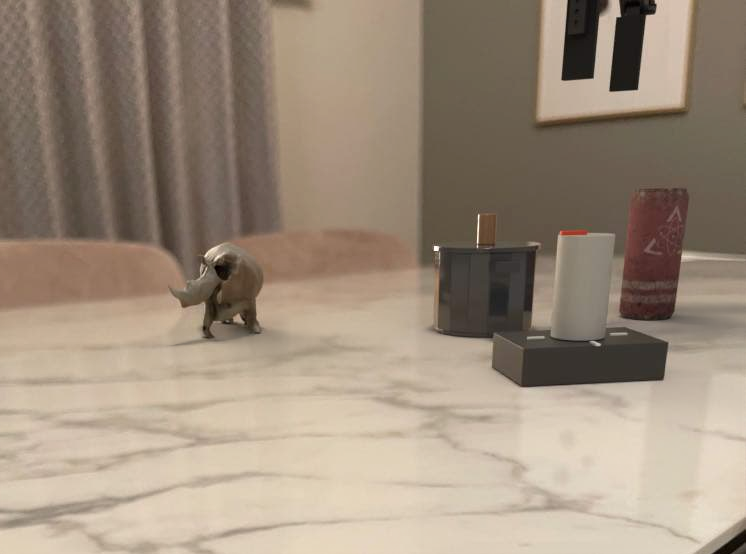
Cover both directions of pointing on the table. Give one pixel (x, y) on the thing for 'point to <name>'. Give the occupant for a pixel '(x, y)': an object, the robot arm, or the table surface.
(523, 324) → the pot
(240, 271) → the rhinoceros figurine
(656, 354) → the block
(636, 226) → the can
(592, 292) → the knob
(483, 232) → the pot lid
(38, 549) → the table surface
